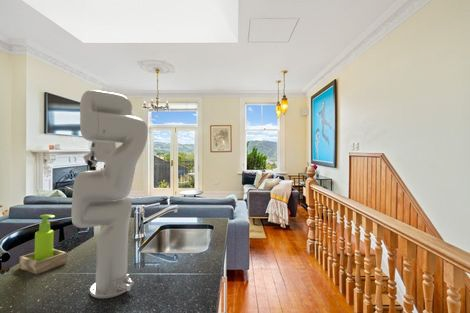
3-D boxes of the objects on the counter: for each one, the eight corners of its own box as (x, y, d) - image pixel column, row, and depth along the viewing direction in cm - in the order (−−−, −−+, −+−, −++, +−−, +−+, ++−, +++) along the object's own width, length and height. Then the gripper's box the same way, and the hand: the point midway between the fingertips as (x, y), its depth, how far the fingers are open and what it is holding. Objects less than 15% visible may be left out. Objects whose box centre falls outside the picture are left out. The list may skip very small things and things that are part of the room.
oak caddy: (66, 263, 98) (66, 252, 98) (36, 274, 88) (37, 262, 88) (49, 257, 103) (49, 247, 103) (19, 268, 93) (19, 256, 93)
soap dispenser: (44, 268, 92) (46, 217, 92) (30, 266, 94) (31, 215, 94) (58, 262, 98) (59, 213, 98) (44, 260, 99) (46, 212, 99)
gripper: (91, 134, 96) (90, 176, 96) (125, 138, 112) (124, 174, 112) (78, 135, 99) (77, 175, 99) (114, 138, 115) (113, 173, 115)
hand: (102, 175), depth 106 cm, fingers open, 9 cm apart
